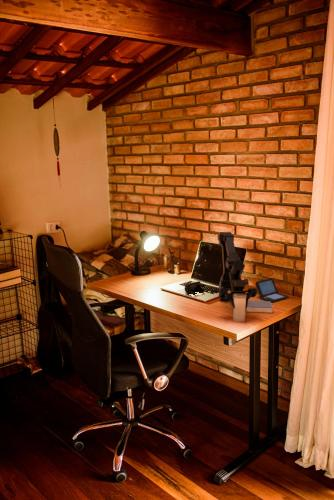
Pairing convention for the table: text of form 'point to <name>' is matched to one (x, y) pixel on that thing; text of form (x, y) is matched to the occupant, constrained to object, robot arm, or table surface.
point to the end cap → (194, 288)
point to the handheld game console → (269, 291)
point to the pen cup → (239, 307)
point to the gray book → (259, 306)
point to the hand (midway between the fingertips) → (240, 308)
